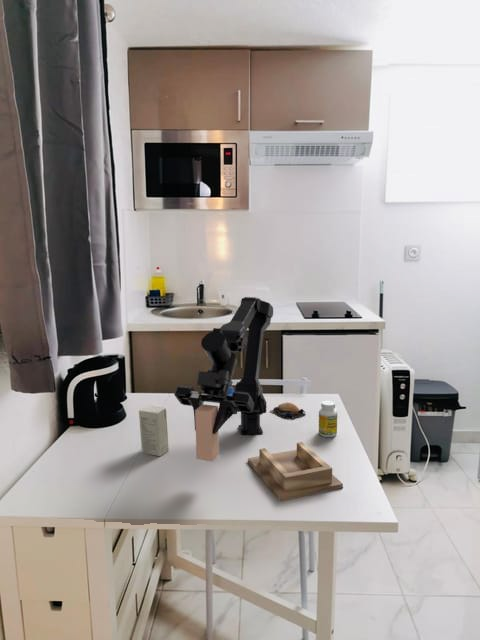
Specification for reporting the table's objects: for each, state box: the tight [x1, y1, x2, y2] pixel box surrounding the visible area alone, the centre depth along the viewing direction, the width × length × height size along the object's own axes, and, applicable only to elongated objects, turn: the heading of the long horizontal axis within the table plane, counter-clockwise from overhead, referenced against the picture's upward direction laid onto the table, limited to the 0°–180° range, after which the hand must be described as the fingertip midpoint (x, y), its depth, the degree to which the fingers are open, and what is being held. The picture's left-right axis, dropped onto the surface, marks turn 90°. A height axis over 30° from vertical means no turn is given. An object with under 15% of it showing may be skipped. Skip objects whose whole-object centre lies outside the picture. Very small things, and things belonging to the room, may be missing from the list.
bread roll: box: [269, 402, 307, 421], centre depth 162 cm, size 11×8×4 cm
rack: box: [247, 441, 344, 502], centre depth 122 cm, size 20×16×4 cm
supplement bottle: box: [318, 400, 338, 438], centre depth 145 cm, size 5×5×10 cm
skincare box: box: [138, 405, 170, 457], centre depth 134 cm, size 6×4×12 cm
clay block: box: [194, 403, 220, 462], centre depth 116 cm, size 4×4×12 cm
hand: (204, 432), depth 114 cm, fingers closed on clay block, 4 cm apart
